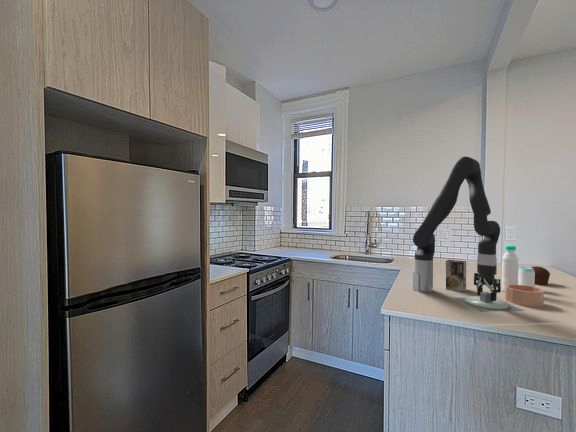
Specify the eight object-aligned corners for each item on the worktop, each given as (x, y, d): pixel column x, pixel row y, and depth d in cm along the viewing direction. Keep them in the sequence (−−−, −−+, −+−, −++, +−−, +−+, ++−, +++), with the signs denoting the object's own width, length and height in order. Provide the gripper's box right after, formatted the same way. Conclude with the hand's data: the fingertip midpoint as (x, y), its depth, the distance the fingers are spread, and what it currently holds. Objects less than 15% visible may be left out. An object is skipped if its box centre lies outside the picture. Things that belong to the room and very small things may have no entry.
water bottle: (514, 290, 163) (515, 245, 162) (520, 293, 156) (521, 246, 155) (499, 289, 165) (500, 244, 164) (504, 292, 158) (505, 246, 158)
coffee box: (466, 290, 163) (467, 261, 163) (463, 292, 158) (464, 262, 158) (448, 287, 169) (448, 259, 169) (445, 289, 165) (445, 260, 164)
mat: (480, 312, 127) (480, 311, 127) (452, 298, 147) (452, 297, 147) (524, 311, 128) (524, 310, 128) (491, 298, 148) (491, 297, 148)
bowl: (521, 307, 134) (522, 292, 133) (498, 298, 148) (498, 284, 147) (551, 307, 134) (551, 291, 134) (525, 298, 148) (525, 284, 148)
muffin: (548, 286, 170) (548, 269, 170) (524, 283, 178) (524, 266, 178) (551, 283, 178) (551, 267, 177) (528, 280, 186) (528, 264, 186)
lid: (481, 310, 129) (481, 298, 129) (457, 298, 146) (457, 288, 146) (518, 309, 130) (518, 298, 130) (490, 298, 147) (490, 288, 147)
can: (517, 289, 165) (518, 267, 165) (519, 286, 170) (519, 266, 170) (534, 291, 160) (534, 269, 160) (534, 289, 165) (535, 267, 165)
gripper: (468, 260, 144) (468, 293, 145) (490, 266, 130) (489, 303, 131) (483, 260, 145) (483, 293, 145) (506, 266, 131) (506, 302, 131)
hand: (486, 298), depth 138 cm, fingers open, 8 cm apart
